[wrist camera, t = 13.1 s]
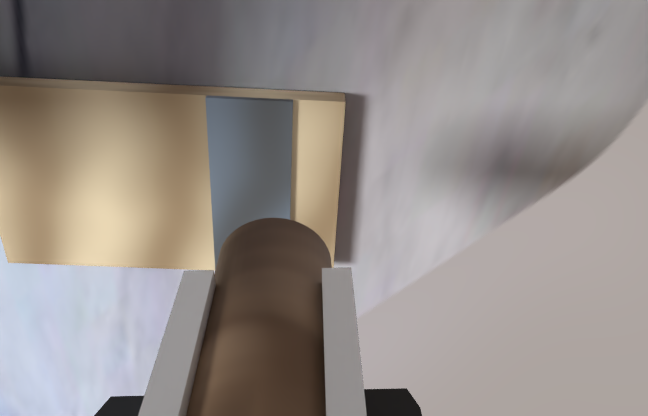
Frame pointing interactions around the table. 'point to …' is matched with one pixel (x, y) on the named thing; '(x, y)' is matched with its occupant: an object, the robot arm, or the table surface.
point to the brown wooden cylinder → (265, 325)
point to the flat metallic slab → (160, 169)
